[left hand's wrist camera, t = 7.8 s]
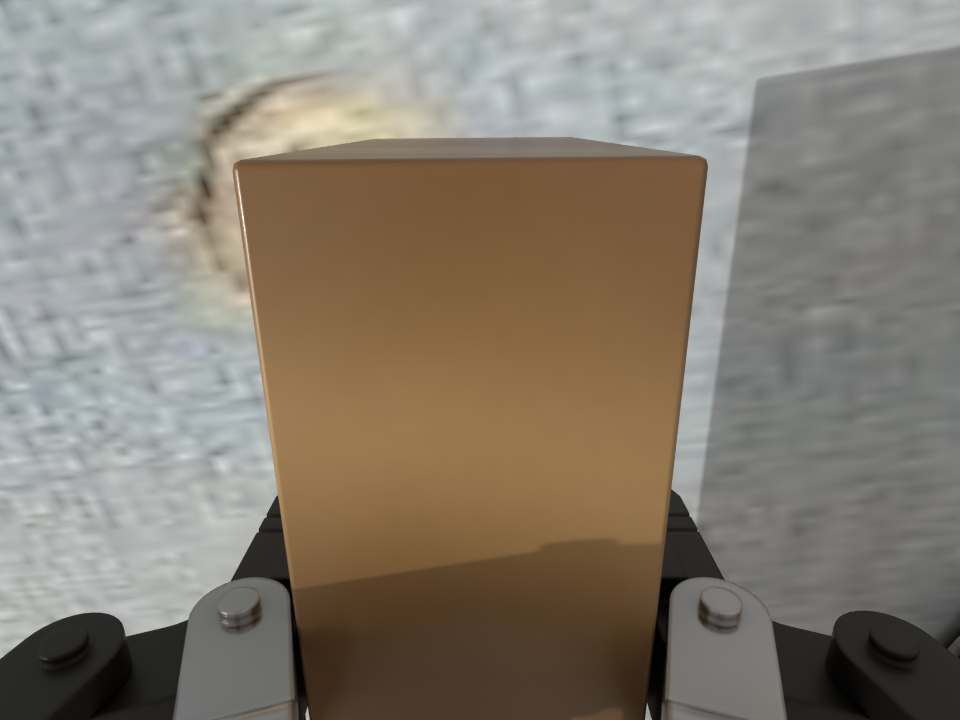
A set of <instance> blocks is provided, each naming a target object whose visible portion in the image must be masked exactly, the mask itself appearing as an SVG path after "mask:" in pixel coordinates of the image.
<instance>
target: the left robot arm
mask: <svg viewBox="0 0 960 720" xmlns="http://www.w3.org/2000/svg"><path fill="white" fill-rule="evenodd" d="M647 704H648V707H649V711H650V714H651V718H652V720H960V659H959V658H957V657H956V656H955V655H954V654H952V653H951V652H950V651H949V650H947V649H946V648H945V647H944V646H942V645H941V644H940V643H939V642H937V641H936V640H935V639H934V638H932V637H931V636H930V635H928V634H927V633H926V632H924V631H923V630H921V629H919V628H918V627H916V626H914V625H912V624H910V623H908V622H906V621H904V620H902V619H899V618H896V617H894V616H891V615H887V614H884V613H879V612H873V611H854V612H849V613H846V614H844V615H842V616H841V617H839V618H838V620H837V621H836V622H835V625H834V628H833V632H832V636H828V635H824V634H820V633H816V632H811V631H807V630H803V629H799V628H794V627H790V626H786V625H783V624H779V623H777V622H774V621H772V620H771V616H770V613H769V611H768V609H767V608H766V606H765V605H764V604H763V603H762V602H761V601H760V600H759V599H758V598H757V597H756V596H755V595H754V594H752V593H751V592H750V591H748V590H746V589H745V588H743V587H741V586H739V585H737V584H735V583H732V582H729V581H726V580H724V578H723V576H722V574H721V572H720V570H719V569H718V567H717V565H716V563H715V561H714V559H713V557H712V555H711V554H710V552H709V550H708V548H707V546H706V544H705V542H704V540H703V538H702V537H701V535H700V533H699V532H697V527H696V525H695V523H694V522H693V520H692V518H691V517H689V512H688V510H687V508H686V507H685V505H684V503H683V501H682V499H681V497H680V496H679V495H678V494H677V493H675V492H674V491H673V490H672V489H671V495H670V504H669V512H668V521H667V530H666V539H665V547H664V556H663V565H662V574H661V583H660V591H659V600H658V609H657V618H656V626H655V635H654V644H653V653H652V662H651V670H650V679H649V688H648V697H647ZM307 707H308V703H307V696H306V689H305V682H304V675H303V668H302V660H301V653H300V646H299V639H298V632H297V625H296V618H295V611H294V604H293V596H292V589H291V582H290V575H289V568H288V561H287V554H286V547H285V540H284V532H283V525H282V518H281V511H280V504H279V497H278V496H277V497H276V498H275V500H274V502H273V504H272V506H271V507H270V509H269V511H268V513H267V518H265V519H264V520H263V522H262V524H261V526H260V528H259V533H256V535H255V537H254V539H253V541H252V543H251V544H250V546H249V548H248V550H247V552H246V554H245V556H244V557H243V559H242V561H241V563H240V565H239V567H238V569H237V570H236V572H235V574H234V576H233V578H232V580H231V582H228V583H225V584H223V585H221V586H219V587H217V588H215V589H214V590H212V591H210V592H209V593H208V594H206V595H205V596H204V597H203V598H202V599H201V600H199V601H198V602H197V604H196V605H195V606H194V608H193V609H192V611H191V613H190V616H189V619H188V620H186V621H184V622H181V623H179V624H176V625H172V626H169V627H165V628H161V629H157V630H152V631H148V632H144V633H140V634H135V635H131V636H127V637H126V635H125V631H124V627H123V625H122V623H121V622H120V620H119V619H117V618H116V617H114V616H112V615H109V614H105V613H84V614H78V615H74V616H70V617H67V618H64V619H61V620H58V621H56V622H53V623H51V624H49V625H47V626H45V627H43V628H42V629H40V630H38V631H37V632H35V633H33V634H32V635H31V636H29V637H28V638H26V639H25V640H24V641H23V642H21V643H20V644H19V645H18V646H16V647H15V648H14V649H13V650H11V651H10V652H9V653H8V654H6V655H5V656H4V657H2V658H1V659H0V720H306V715H305V713H306V710H307Z"/></svg>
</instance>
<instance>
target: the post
mask: <svg viewBox="0 0 960 720" xmlns="http://www.w3.org/2000/svg"><path fill="white" fill-rule="evenodd" d="M707 170H708V165H707V161H706V159H705V158H703V157H701V156H697V155H690V154H683V153H676V152H669V151H662V150H655V149H648V148H641V147H635V146H628V145H621V144H614V143H607V142H600V141H593V140H586V139H579V138H572V137H531V138H421V139H372V140H365V141H359V142H353V143H346V144H340V145H334V146H327V147H321V148H315V149H308V150H302V151H296V152H289V153H283V154H277V155H270V156H264V157H258V158H251V159H245V160H240V161H238V162H236V163H234V167H233V177H234V184H235V191H236V198H237V205H238V213H239V220H240V227H241V234H242V241H243V248H244V255H245V262H246V269H247V277H248V284H249V291H250V298H251V305H252V312H253V319H254V326H255V333H256V341H257V348H258V355H259V362H260V369H261V376H262V383H263V390H264V397H265V404H266V412H267V419H268V426H269V433H270V440H271V447H272V454H273V461H274V468H275V476H276V483H277V490H278V497H279V504H280V511H281V518H282V525H283V532H284V540H285V547H286V554H287V561H288V568H289V575H290V582H291V589H292V596H293V604H294V611H295V618H296V625H297V632H298V639H299V646H300V653H301V660H302V668H303V675H304V682H305V689H306V696H307V703H308V710H309V717H310V720H645V714H646V706H647V697H648V688H649V679H650V670H651V662H652V653H653V644H654V635H655V626H656V618H657V609H658V600H659V591H660V583H661V574H662V565H663V556H664V547H665V539H666V530H667V521H668V512H669V504H670V495H671V486H672V477H673V468H674V460H675V451H676V442H677V433H678V424H679V416H680V407H681V398H682V389H683V381H684V372H685V363H686V354H687V345H688V337H689V328H690V319H691V310H692V301H693V293H694V284H695V275H696V266H697V258H698V249H699V240H700V231H701V222H702V214H703V205H704V196H705V187H706V179H707Z"/></svg>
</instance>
